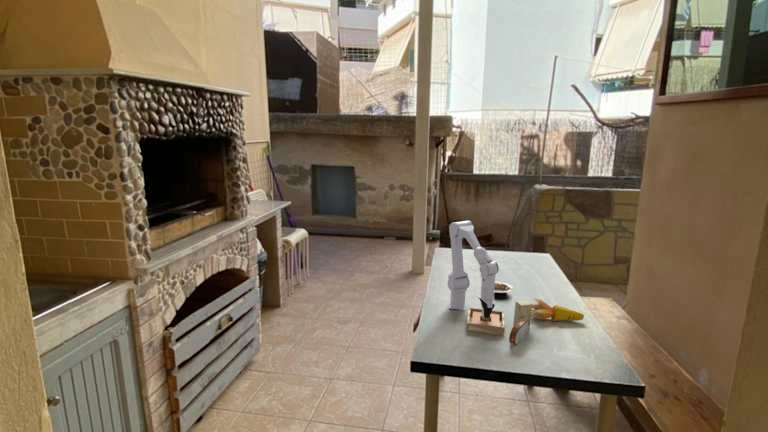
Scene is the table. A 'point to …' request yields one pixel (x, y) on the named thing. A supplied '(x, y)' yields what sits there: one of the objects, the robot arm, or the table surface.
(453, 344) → the table surface
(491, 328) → the open box
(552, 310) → the yellow tapered piece
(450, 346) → the table surface
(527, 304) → the skincare box
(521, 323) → the tin
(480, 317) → the socket plate
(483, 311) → the peg
